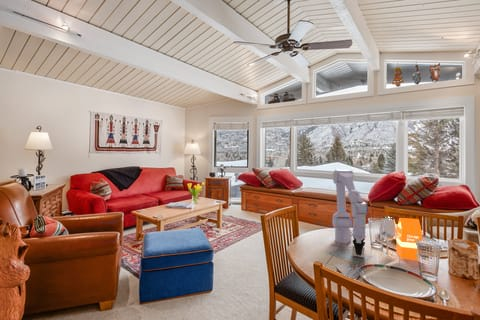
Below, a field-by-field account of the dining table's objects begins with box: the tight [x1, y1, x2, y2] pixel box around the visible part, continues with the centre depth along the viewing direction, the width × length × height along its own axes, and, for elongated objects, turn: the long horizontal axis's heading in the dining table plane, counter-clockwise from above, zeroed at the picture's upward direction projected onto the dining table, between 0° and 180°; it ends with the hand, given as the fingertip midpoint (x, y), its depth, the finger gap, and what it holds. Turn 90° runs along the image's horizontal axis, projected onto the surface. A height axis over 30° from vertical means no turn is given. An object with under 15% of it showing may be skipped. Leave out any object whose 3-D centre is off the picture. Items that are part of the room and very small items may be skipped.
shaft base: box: [325, 246, 374, 265], centre depth 123 cm, size 16×16×4 cm
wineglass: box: [378, 216, 397, 258], centre depth 124 cm, size 8×8×20 cm
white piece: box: [351, 243, 366, 257], centre depth 121 cm, size 5×5×5 cm
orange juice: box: [396, 217, 423, 261], centre depth 124 cm, size 8×9×20 cm
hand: (358, 252), depth 121 cm, fingers closed on white piece, 5 cm apart
